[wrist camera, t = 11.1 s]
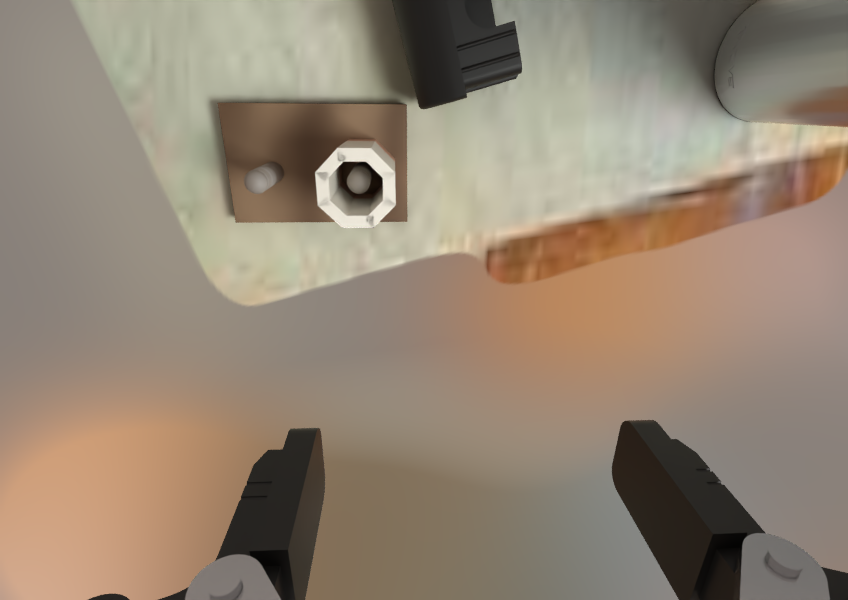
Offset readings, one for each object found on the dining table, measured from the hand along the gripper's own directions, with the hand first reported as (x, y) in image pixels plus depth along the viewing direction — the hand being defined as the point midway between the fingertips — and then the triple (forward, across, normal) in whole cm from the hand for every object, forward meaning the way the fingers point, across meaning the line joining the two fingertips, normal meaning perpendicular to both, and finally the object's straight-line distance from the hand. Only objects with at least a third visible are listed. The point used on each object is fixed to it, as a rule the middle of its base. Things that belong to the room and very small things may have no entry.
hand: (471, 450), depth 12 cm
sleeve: (+28, +5, -4) cm, 29 cm away
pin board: (+30, +8, -4) cm, 31 cm away
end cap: (+30, -2, -14) cm, 33 cm away
